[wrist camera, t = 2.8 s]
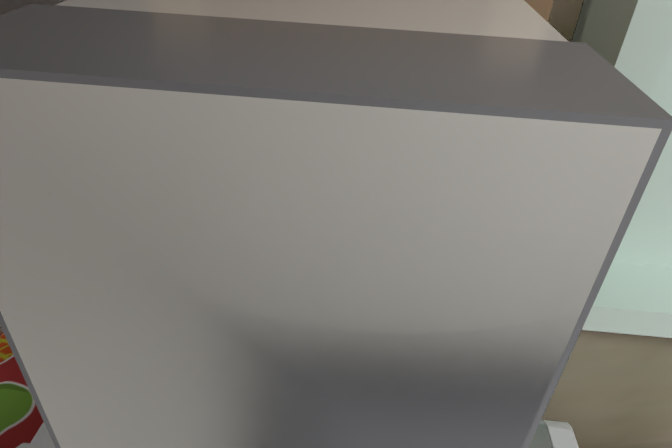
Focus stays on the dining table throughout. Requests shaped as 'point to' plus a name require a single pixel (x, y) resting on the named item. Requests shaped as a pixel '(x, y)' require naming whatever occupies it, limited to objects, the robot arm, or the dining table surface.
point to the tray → (666, 180)
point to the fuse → (306, 217)
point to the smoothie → (15, 402)
